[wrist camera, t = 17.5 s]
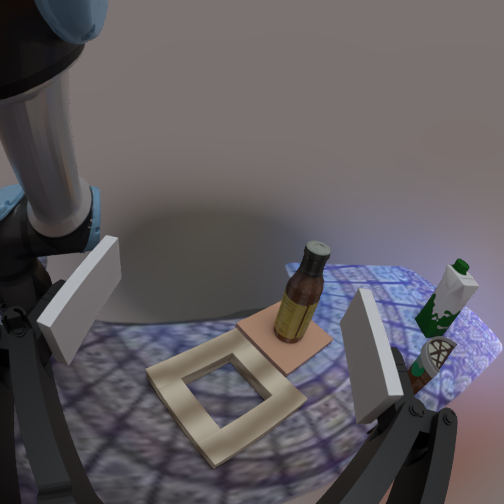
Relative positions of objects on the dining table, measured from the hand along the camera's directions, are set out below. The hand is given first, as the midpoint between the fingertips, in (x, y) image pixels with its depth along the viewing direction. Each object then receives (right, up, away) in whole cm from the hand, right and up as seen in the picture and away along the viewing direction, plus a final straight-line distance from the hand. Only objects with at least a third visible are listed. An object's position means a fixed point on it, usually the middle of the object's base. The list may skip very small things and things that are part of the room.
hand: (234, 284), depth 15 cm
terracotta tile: (+7, -15, +39) cm, 43 cm away
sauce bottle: (+8, -14, +39) cm, 42 cm away
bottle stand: (-3, -21, +26) cm, 34 cm away
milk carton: (+48, -19, +49) cm, 71 cm away
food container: (+35, -25, +34) cm, 55 cm away
